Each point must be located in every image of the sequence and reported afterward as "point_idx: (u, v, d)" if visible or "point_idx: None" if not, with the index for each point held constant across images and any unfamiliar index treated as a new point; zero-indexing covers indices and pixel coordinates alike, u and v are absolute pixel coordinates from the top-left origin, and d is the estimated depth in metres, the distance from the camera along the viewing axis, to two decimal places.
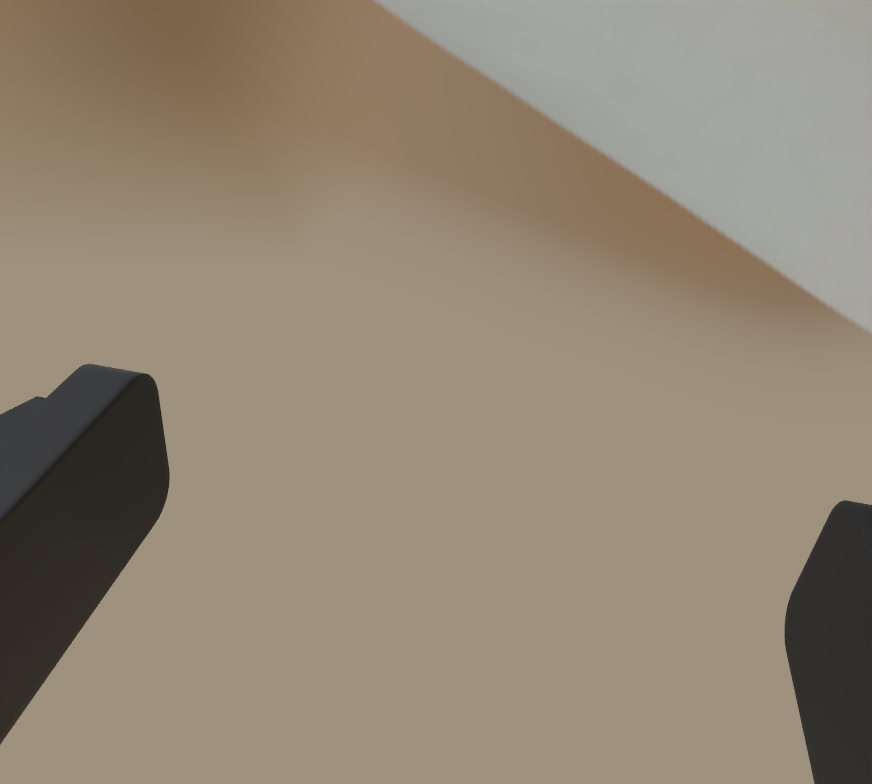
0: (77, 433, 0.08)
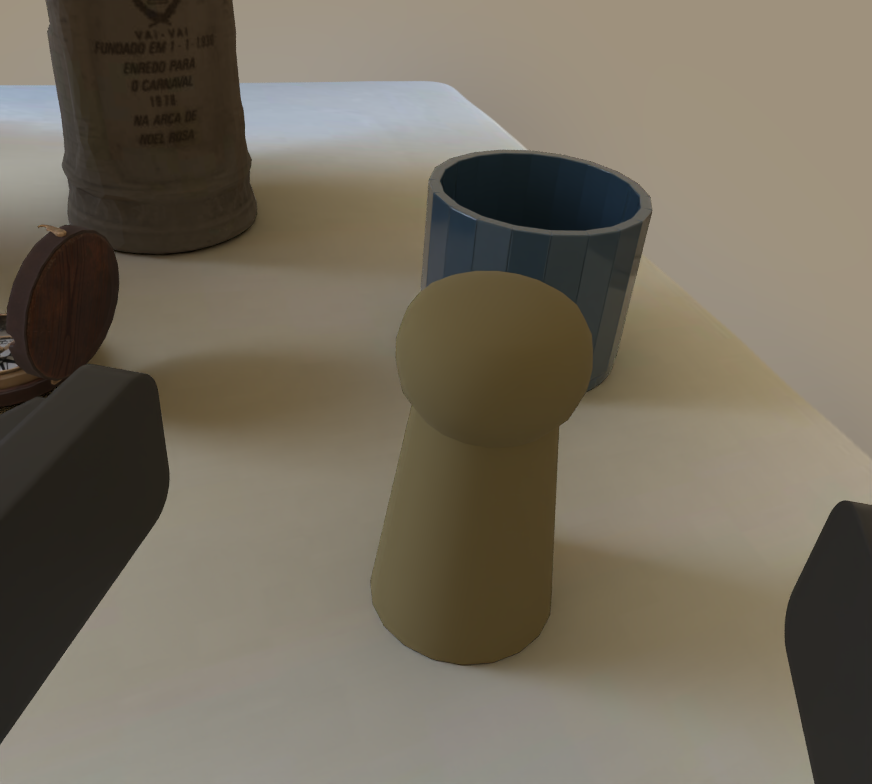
0: (77, 433, 0.08)
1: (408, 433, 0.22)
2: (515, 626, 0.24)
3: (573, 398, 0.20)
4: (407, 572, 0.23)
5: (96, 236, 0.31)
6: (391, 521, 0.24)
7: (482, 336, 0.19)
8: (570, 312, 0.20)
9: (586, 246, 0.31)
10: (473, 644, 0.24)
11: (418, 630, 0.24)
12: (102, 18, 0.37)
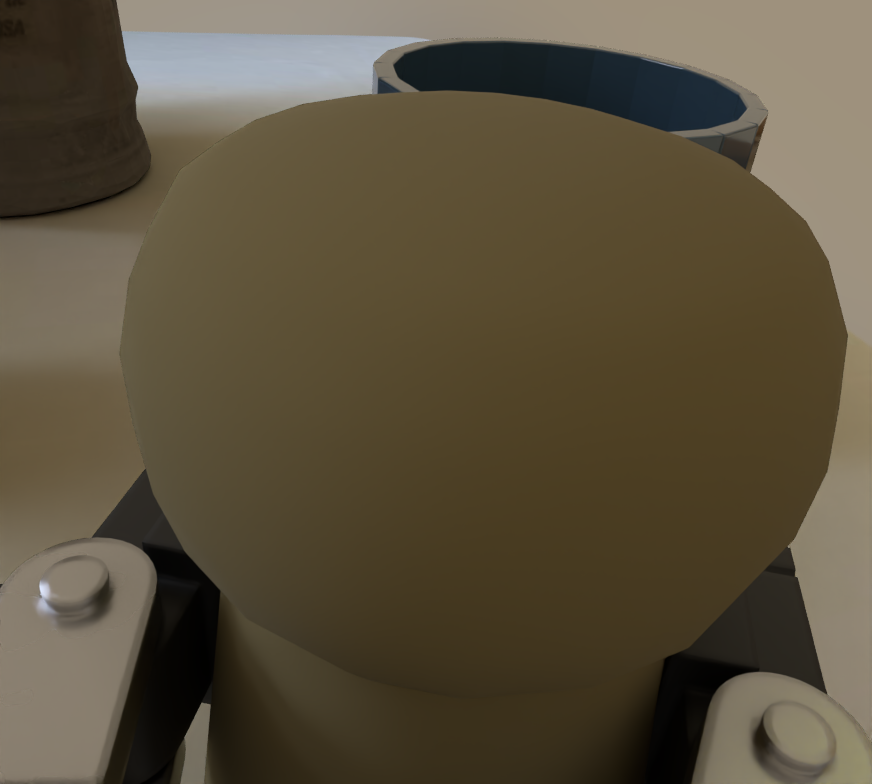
0: None
1: None
2: None
3: (793, 526, 0.05)
4: None
5: None
6: None
7: (418, 258, 0.04)
8: (763, 190, 0.05)
9: None
10: None
11: None
12: None
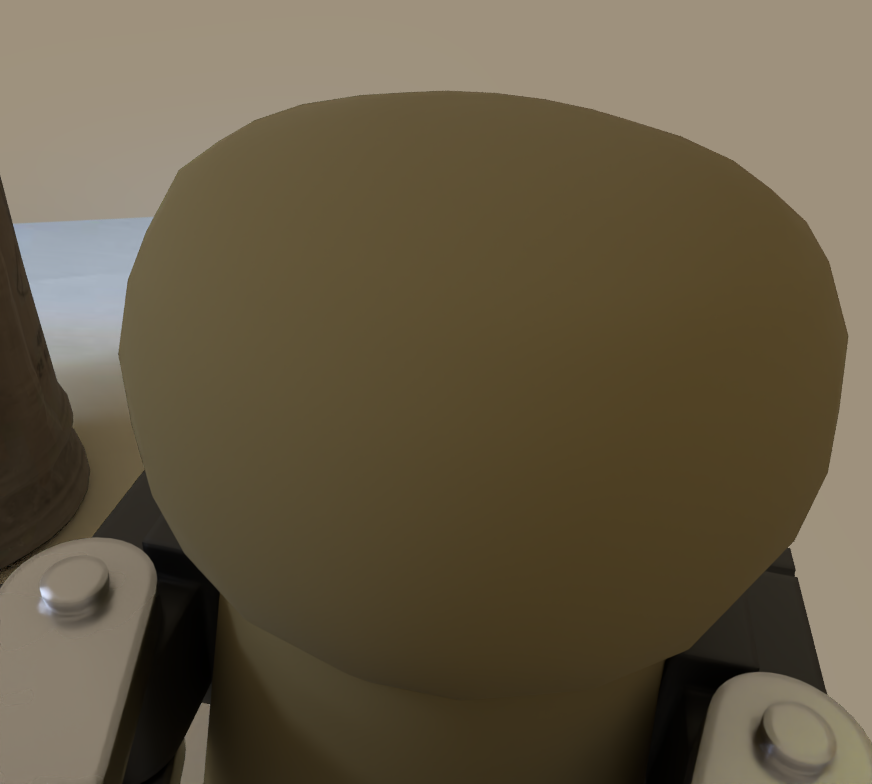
0: None
1: None
2: None
3: (792, 526, 0.05)
4: None
5: None
6: None
7: (416, 260, 0.04)
8: (762, 191, 0.05)
9: None
10: None
11: None
12: None
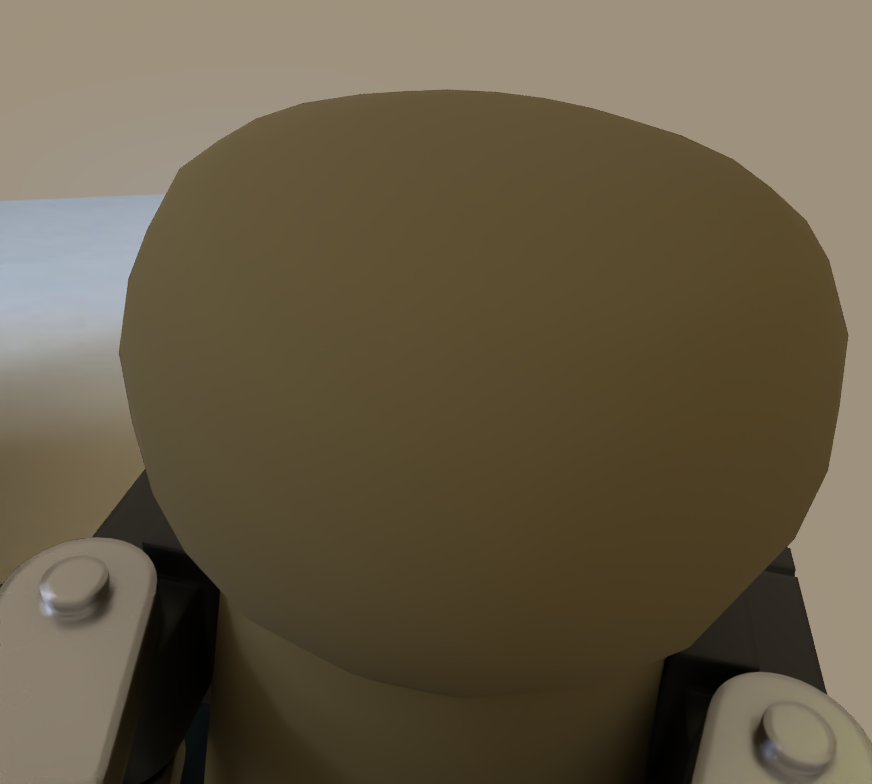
0: None
1: None
2: None
3: (793, 526, 0.05)
4: None
5: None
6: None
7: (416, 258, 0.04)
8: (763, 191, 0.05)
9: None
10: None
11: None
12: None
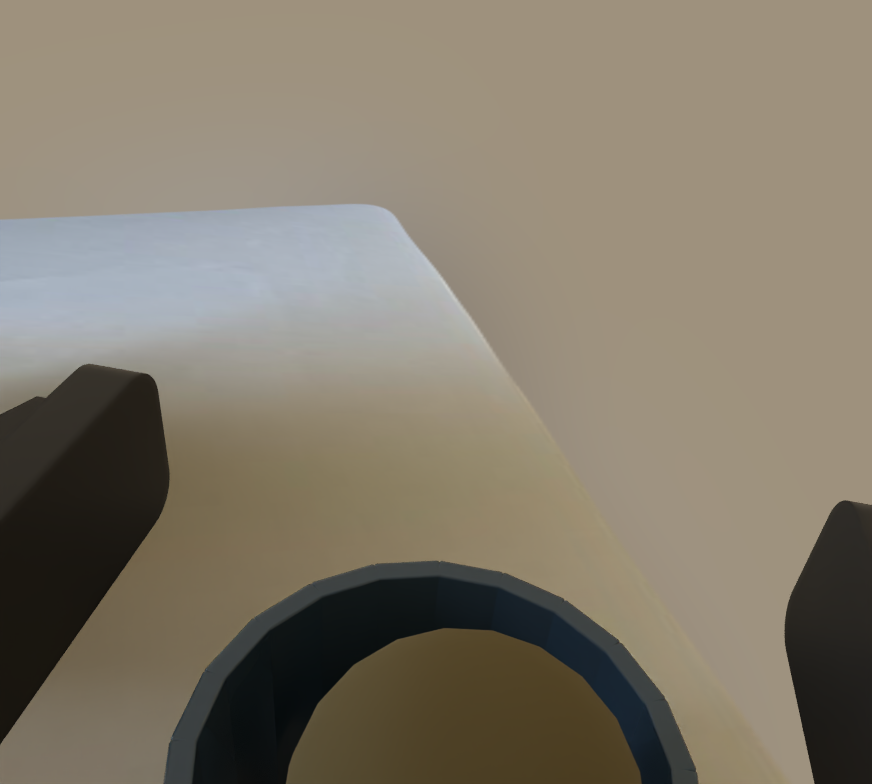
0: (77, 433, 0.08)
1: None
2: None
3: None
4: None
5: None
6: None
7: None
8: (600, 769, 0.10)
9: None
10: None
11: None
12: None
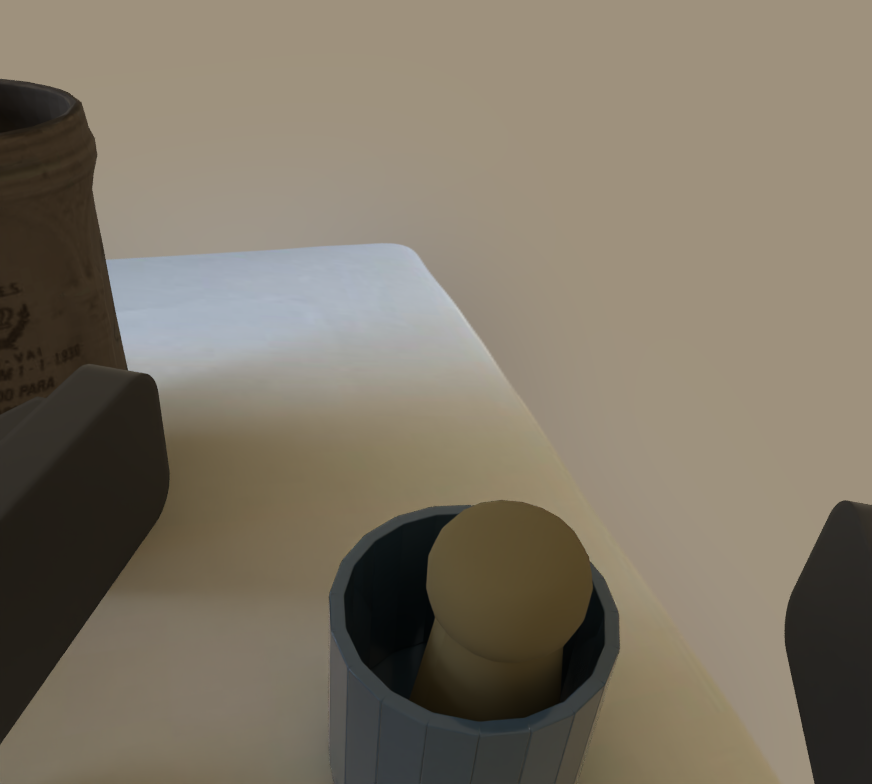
0: (77, 433, 0.08)
1: (437, 644, 0.26)
2: None
3: (581, 618, 0.24)
4: None
5: None
6: None
7: (509, 585, 0.23)
8: (571, 545, 0.24)
9: (527, 741, 0.23)
10: None
11: None
12: None
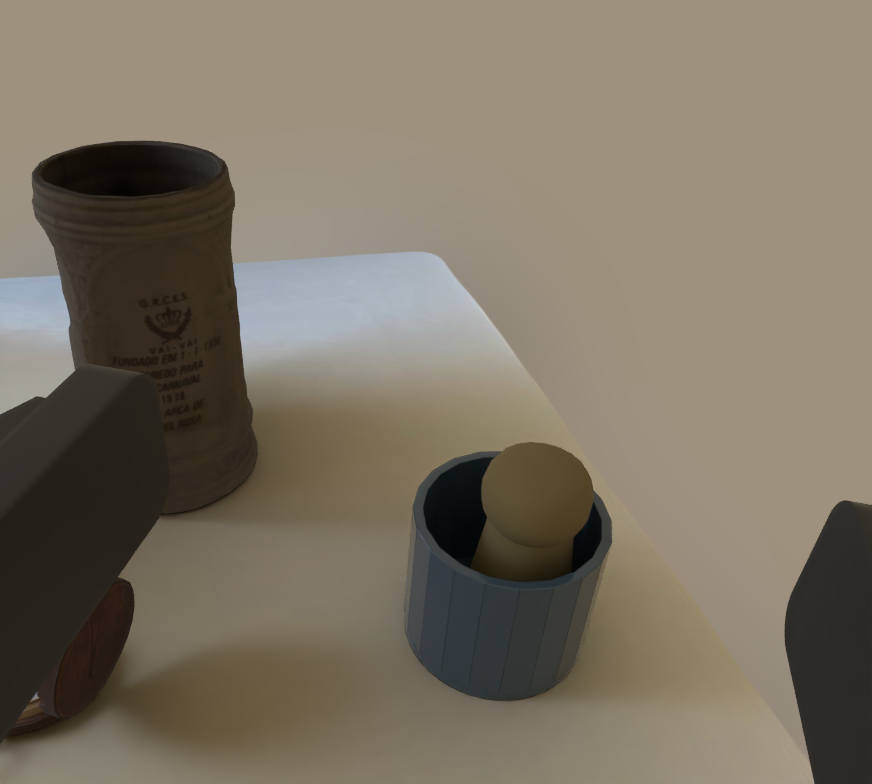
0: (77, 433, 0.08)
1: (487, 540, 0.38)
2: None
3: (586, 518, 0.36)
4: None
5: (116, 587, 0.35)
6: None
7: (539, 492, 0.35)
8: (579, 469, 0.36)
9: (551, 595, 0.35)
10: None
11: None
12: (120, 340, 0.41)
